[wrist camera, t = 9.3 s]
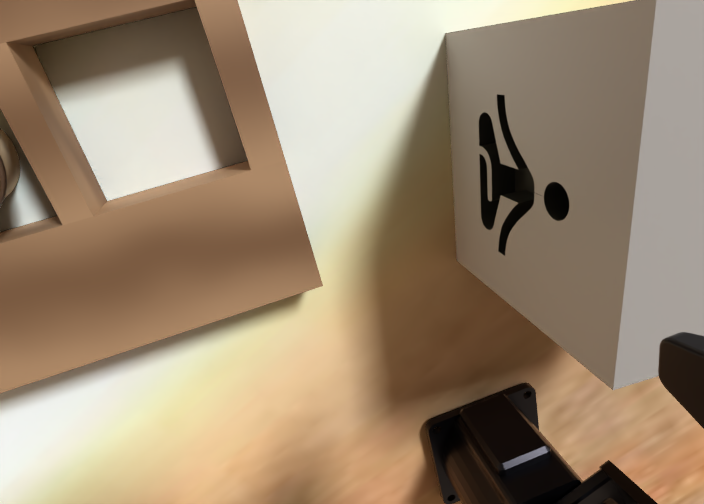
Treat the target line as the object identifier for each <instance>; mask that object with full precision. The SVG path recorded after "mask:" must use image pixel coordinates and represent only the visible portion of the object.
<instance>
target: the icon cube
mask: <svg viewBox="0 0 704 504" xmlns="http://www.w3.org/2000/svg"><path fill="white" fill-rule="evenodd" d="M445 36H446V56H447V76H448V96H449V116H450V136H451V156H452V176H453V196H454V216H455V236H456V256H457V261H458V262H459V263H460V264H461V265H462V266H464V267H465V268H466V269H467V270H468V271H470V272H471V273H472V274H473V275H474V276H476V277H477V278H478V279H479V280H480V281H482V282H483V283H484V284H485V285H487V286H488V287H489V288H490V289H491V290H493V291H494V292H495V293H496V294H497V295H499V296H500V297H501V298H502V299H503V300H505V301H506V302H507V303H508V304H509V305H511V306H512V307H513V308H514V309H516V310H517V311H518V312H519V313H520V314H522V315H523V316H524V317H525V318H526V319H528V320H529V321H530V322H531V323H532V324H534V325H535V326H536V327H537V328H539V329H540V330H541V331H542V332H543V333H545V334H546V335H547V336H548V337H549V338H551V339H552V340H553V341H554V342H555V343H557V344H558V345H559V346H560V347H561V348H563V349H564V350H565V351H566V352H568V353H569V354H570V355H571V356H572V357H574V358H575V359H576V360H577V361H578V362H580V363H581V364H582V365H583V366H584V367H586V368H587V369H588V370H589V371H590V372H592V373H593V374H594V375H595V376H597V377H598V378H599V379H600V380H601V381H603V382H604V383H605V384H606V385H607V386H609V387H610V388H611V389H612V390H615V389H618V388H622V387H625V386H628V385H631V384H634V383H638V382H641V381H644V380H647V379H650V378H654V377H657V376H659V375H658V366H659V347H660V343H661V341H662V340H663V339H664V338H666V337H669V336H671V335H674V334H677V333H680V332H688V333H693V334H697V335H702V336H704V0H635V1H629V2H623V3H618V4H612V5H606V6H600V7H594V8H589V9H583V10H577V11H571V12H566V13H560V14H554V15H548V16H542V17H537V18H531V19H525V20H519V21H514V22H508V23H502V24H496V25H491V26H485V27H479V28H473V29H467V30H462V31H456V32H450V33H445Z"/></svg>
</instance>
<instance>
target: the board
mask: <svg viewBox="0 0 704 504" xmlns="http://www.w3.org/2000/svg"><path fill="white" fill-rule="evenodd" d="M193 7H197V9H198V12H199V15H200V18H201V21H202V24H203V27H204V30H205V33H206V36H207V39H208V42H209V45H210V48H211V51H212V54H213V57H214V60H215V63H216V66H217V69H218V72H219V75H220V78H221V81H222V84H223V87H224V90H225V93H226V96H227V99H228V102H229V105H230V108H231V111H232V114H233V117H234V120H235V123H236V126H237V129H238V132H239V135H240V138H241V141H242V144H243V147H244V150H245V153H246V156H247V159H248V161H245V162H242V163H238V164H235V165H231V166H228V167H224V168H221V169H217V170H214V171H211V172H207V173H204V174H200V175H197V176H193V177H190V178H186V179H183V180H179V181H176V182H172V183H169V184H166V185H162V186H159V187H155V188H152V189H148V190H145V191H141V192H138V193H134V194H131V195H127V196H124V197H121V198H117V199H114V200H110V201H107V200H106V198H105V196H104V194H103V192H102V190H101V188H100V186H99V183H98V181H97V179H96V177H95V175H94V173H93V171H92V169H91V167H90V165H89V163H88V161H87V158H86V156H85V154H84V152H83V150H82V148H81V146H80V144H79V142H78V140H77V138H76V136H75V134H74V131H73V129H72V127H71V125H70V123H69V121H68V119H67V117H66V115H65V113H64V111H63V109H62V107H61V104H60V102H59V100H58V98H57V96H56V94H55V92H54V90H53V88H52V86H51V84H50V82H49V79H48V77H47V75H46V73H45V71H44V69H43V67H42V65H41V63H40V61H39V59H38V57H37V55H36V52H35V50H34V48H33V46H34V45H38V44H42V43H47V42H51V41H55V40H59V39H63V38H68V37H72V36H76V35H80V34H84V33H88V32H93V31H97V30H101V29H105V28H109V27H114V26H118V25H122V24H126V23H130V22H134V21H139V20H143V19H147V18H151V17H155V16H160V15H164V14H168V13H172V12H176V11H181V10H185V9H189V8H193ZM0 109H1V111H2V113H3V114H4V116H5V118H6V120H7V122H8V124H9V126H10V128H11V129H12V131H13V133H14V135H15V137H16V139H17V141H18V142H19V144H20V146H21V148H22V150H23V152H24V154H25V156H26V157H27V159H28V161H29V163H30V165H31V167H32V169H33V171H34V172H35V174H36V176H37V178H38V180H39V182H40V184H41V185H42V187H43V189H44V191H45V193H46V195H47V197H48V199H49V200H50V202H51V204H52V206H53V208H54V210H55V212H56V213H57V215H58V216H55V217H51V218H48V219H44V220H41V221H37V222H34V223H30V224H27V225H24V226H20V227H17V228H13V229H10V230H6V231H3V232H0V393H3V392H6V391H9V390H12V389H15V388H18V387H21V386H24V385H27V384H30V383H33V382H36V381H39V380H42V379H45V378H48V377H51V376H54V375H57V374H60V373H63V372H66V371H69V370H72V369H75V368H78V367H81V366H84V365H87V364H90V363H93V362H96V361H99V360H102V359H105V358H108V357H111V356H114V355H117V354H120V353H123V352H126V351H129V350H132V349H135V348H138V347H141V346H144V345H147V344H150V343H153V342H156V341H159V340H162V339H165V338H168V337H171V336H174V335H177V334H180V333H183V332H186V331H189V330H192V329H195V328H198V327H201V326H204V325H207V324H210V323H213V322H216V321H219V320H222V319H225V318H228V317H231V316H234V315H237V314H240V313H243V312H246V311H249V310H252V309H255V308H258V307H261V306H264V305H267V304H270V303H273V302H276V301H279V300H282V299H285V298H288V297H291V296H294V295H297V294H300V293H303V292H306V291H309V290H312V289H315V288H317V287H320V286H323V285H322V281H321V278H320V275H319V271H318V268H317V265H316V261H315V258H314V255H313V251H312V248H311V245H310V241H309V238H308V235H307V231H306V228H305V225H304V221H303V218H302V215H301V211H300V208H299V205H298V201H297V198H296V195H295V191H294V188H293V185H292V181H291V178H290V174H289V171H288V168H287V164H286V161H285V158H284V154H283V151H282V148H281V144H280V141H279V138H278V134H277V131H276V128H275V124H274V121H273V118H272V114H271V111H270V108H269V104H268V101H267V98H266V94H265V91H264V88H263V84H262V81H261V78H260V74H259V71H258V68H257V64H256V61H255V58H254V54H253V51H252V48H251V44H250V41H249V38H248V34H247V31H246V28H245V24H244V21H243V18H242V14H241V11H240V8H239V4H238V1H237V0H0Z"/></svg>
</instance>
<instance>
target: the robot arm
mask: <svg viewBox="0 0 704 504" xmlns="http://www.w3.org/2000/svg"><path fill="white" fill-rule="evenodd" d="M658 375H659V378H660V380H661V382H662V384H663V385H664V387H665V388H666V389H667V390H668V391H669V392H670V393H671V394H672V395H673V396H674V397H675V398H676V400H677V401H678V402H679V403H680V404H681V405H682V406H683V407H684V408H685V409H686V410H687V411H688V412H689V413H690V414H691V416H692V417H693V418H694V419H695V420H696V421H697V422H698V423H699V424H700V425H701V426H702V427H703V428H704V336H702V335H697V334H693V333H688V332H680V333H677V334H674V335H671V336H669V337H666V338H664V339H663V340H662V341H661V343H660V347H659V366H658ZM525 392H526V393H525ZM435 427H437V428H435ZM434 428H435V429H434ZM426 432H427V437H428V441H429V445H430V450H431V454H432V459H433V463H434V468H435V472H436V476H437V481H438V485H439V490H440V494H441V497H442V499H443V501H444V503H446V504H453V503H455V502H458V501H461V503H462V504H657V503H656V502H655V501H654V500H653V499H652V498H651V497H650V496H648V495H647V494H646V493H645V492H644V491H643V490H642V489H641V488H640V487H638V486H637V485H636V484H635V483H634V482H633V481H632V480H631V479H629V478H628V477H627V476H626V475H625V474H624V473H623V472H622V471H620V470H619V469H618V468H617V467H616V466H615V465H614V464H613V463H612V462H610V461H609V460H608V461H607V462H605V463H604V464H603V465H601V466H600V470H598V471H597V472H596V473H594V474H593V475H591V476H590V477H589V478H587V479H586V480H585V481H582V480H581V478H580V477H579V476H578V475H577V474H576V473H575V472H574V470H573V469H572V468H571V467H570V466H569V465H568V463H567V462H566V461H565V460H564V459H563V458H562V457H561V455H560V454H559V453H558V452H557V451H556V450H555V448H554V447H553V446H552V445H551V444H550V443H549V442H548V440H547V439H546V438H545V437H544V436H543V435H542V433H541V432H540V431H539V426H538V415H537V403H536V392H535V389H534V388H533V387H532V386H531V385H530V384H529V383H523V384H520V385H518V386H515V387H513V388H510V389H507V390H505V391H502V392H500V393H497V394H494V395H492V396H489V397H487V398H484V399H482V400H479V401H476V402H474V403H471V404H469V405H466V406H463V407H461V408H458V409H456V410H453V411H451V412H448V413H445V414H443V415H440V416H438V417H435V418H433V419H431V420H429V421H428V422H427V424H426Z"/></svg>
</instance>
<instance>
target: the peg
mask: <svg viewBox="0 0 704 504" xmlns="http://www.w3.org/2000/svg"><path fill="white" fill-rule="evenodd" d="M19 174H20V162H19V157H18V154H17V151H16V149H15V146H14V145H13V143H12V141H11V140H10V138H9V137H8V136H7V135H6V133H5V132H4V131H3V130H2V129H1V128H0V207H1V205H2V203H3V201H4V198H5V197H7V196H8V195H9V194H10V193H11V192H12V190H13V189H14V188H15V186H16V184H17V182H18V179H19Z"/></svg>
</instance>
